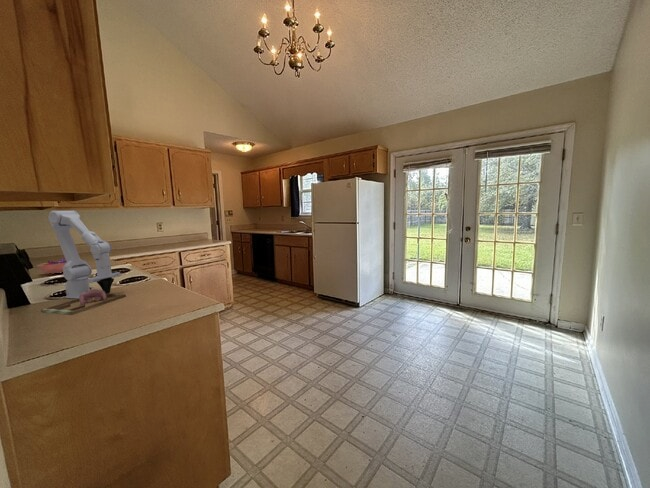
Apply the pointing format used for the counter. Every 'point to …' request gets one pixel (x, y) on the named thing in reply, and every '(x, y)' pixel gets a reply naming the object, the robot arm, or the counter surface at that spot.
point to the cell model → (52, 266)
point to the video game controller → (87, 295)
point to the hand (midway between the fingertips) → (107, 293)
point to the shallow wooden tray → (80, 308)
